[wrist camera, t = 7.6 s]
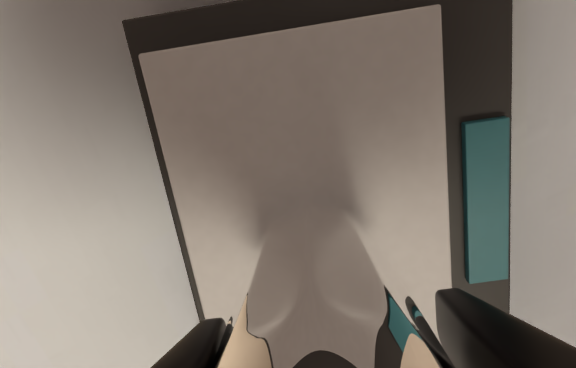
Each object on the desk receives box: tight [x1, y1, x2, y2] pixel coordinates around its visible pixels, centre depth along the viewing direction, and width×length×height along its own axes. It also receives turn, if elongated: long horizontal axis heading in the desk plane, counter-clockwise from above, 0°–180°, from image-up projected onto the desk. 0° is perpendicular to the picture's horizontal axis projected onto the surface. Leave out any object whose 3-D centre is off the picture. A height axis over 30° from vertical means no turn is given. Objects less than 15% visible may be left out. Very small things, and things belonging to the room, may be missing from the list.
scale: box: [122, 0, 512, 344], centre depth 13 cm, size 10×13×3 cm
